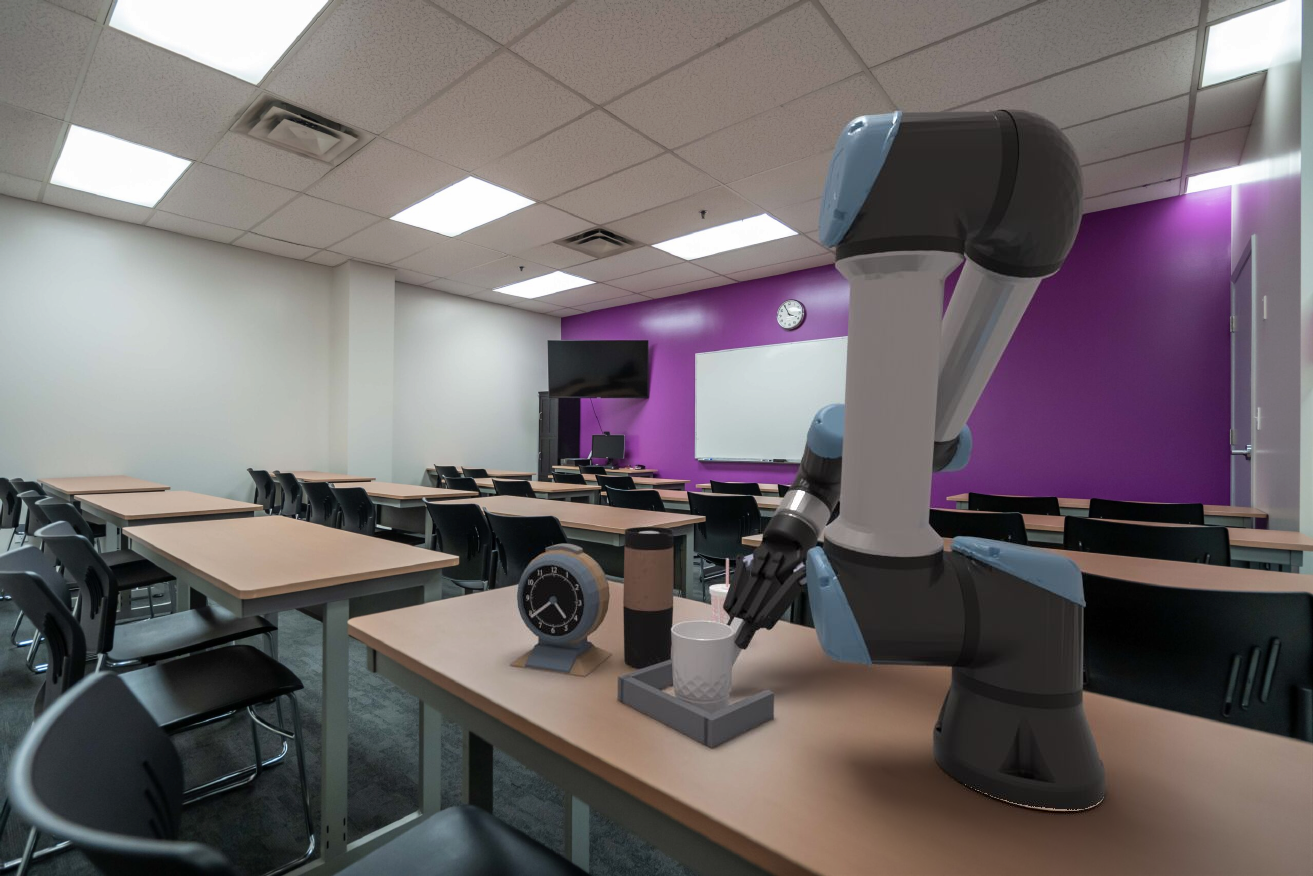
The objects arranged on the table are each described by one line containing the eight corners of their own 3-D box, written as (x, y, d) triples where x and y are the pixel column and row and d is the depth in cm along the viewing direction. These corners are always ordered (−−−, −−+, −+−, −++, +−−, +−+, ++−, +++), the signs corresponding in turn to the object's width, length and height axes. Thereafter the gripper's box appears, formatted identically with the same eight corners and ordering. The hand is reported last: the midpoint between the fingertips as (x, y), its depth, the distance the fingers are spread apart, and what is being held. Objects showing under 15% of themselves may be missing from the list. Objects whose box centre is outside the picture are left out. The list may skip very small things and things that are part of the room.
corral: (679, 677, 85) (679, 656, 85) (773, 717, 73) (774, 692, 73) (617, 699, 77) (617, 676, 77) (711, 748, 65) (712, 720, 65)
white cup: (659, 703, 76) (660, 624, 76) (711, 692, 80) (712, 617, 80) (690, 729, 69) (691, 643, 69) (746, 716, 73) (746, 634, 73)
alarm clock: (504, 665, 89) (506, 546, 89) (537, 644, 98) (539, 537, 98) (591, 678, 84) (593, 552, 84) (618, 655, 93) (619, 542, 94)
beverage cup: (751, 640, 101) (752, 558, 102) (732, 649, 97) (733, 563, 97) (721, 633, 105) (722, 553, 105) (701, 641, 101) (702, 558, 101)
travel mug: (616, 655, 93) (618, 527, 94) (661, 650, 96) (663, 526, 96) (631, 673, 86) (633, 534, 86) (680, 666, 89) (682, 532, 89)
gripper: (843, 549, 87) (772, 696, 75) (770, 538, 97) (698, 667, 85) (823, 516, 83) (746, 664, 72) (750, 507, 93) (671, 637, 82)
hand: (720, 665), depth 79 cm, fingers closed
